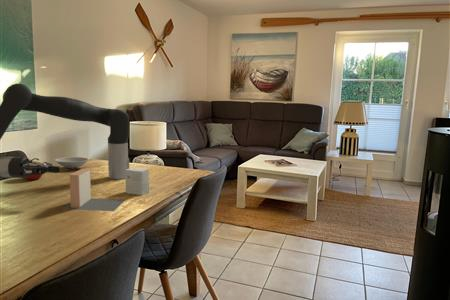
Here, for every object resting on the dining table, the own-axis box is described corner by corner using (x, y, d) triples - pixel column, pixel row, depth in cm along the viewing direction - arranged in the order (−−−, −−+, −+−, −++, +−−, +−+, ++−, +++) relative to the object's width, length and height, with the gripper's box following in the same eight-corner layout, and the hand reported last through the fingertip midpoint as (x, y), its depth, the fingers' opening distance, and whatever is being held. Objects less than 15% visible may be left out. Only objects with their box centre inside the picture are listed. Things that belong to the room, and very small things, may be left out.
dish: (49, 171, 180) (49, 161, 180) (62, 165, 195) (61, 156, 194) (83, 171, 180) (83, 162, 180) (93, 166, 195) (93, 157, 194)
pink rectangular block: (70, 207, 124) (69, 174, 122) (83, 199, 134) (82, 168, 132) (79, 208, 124) (78, 175, 122) (91, 199, 133) (90, 169, 132)
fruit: (28, 176, 168) (27, 155, 167) (48, 176, 168) (47, 156, 166) (16, 181, 159) (15, 159, 157) (37, 181, 159) (35, 160, 157)
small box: (149, 193, 147) (149, 168, 145) (142, 196, 141) (142, 171, 140) (133, 190, 149) (132, 166, 147) (125, 194, 144) (125, 169, 142)
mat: (62, 210, 122) (61, 208, 122) (78, 199, 135) (78, 197, 135) (114, 212, 122) (113, 210, 122) (125, 201, 135) (125, 199, 134)
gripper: (0, 160, 120) (50, 162, 119) (24, 154, 133) (68, 156, 133) (2, 181, 121) (50, 184, 121) (25, 173, 134) (69, 175, 134)
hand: (60, 169), depth 127 cm, fingers closed
